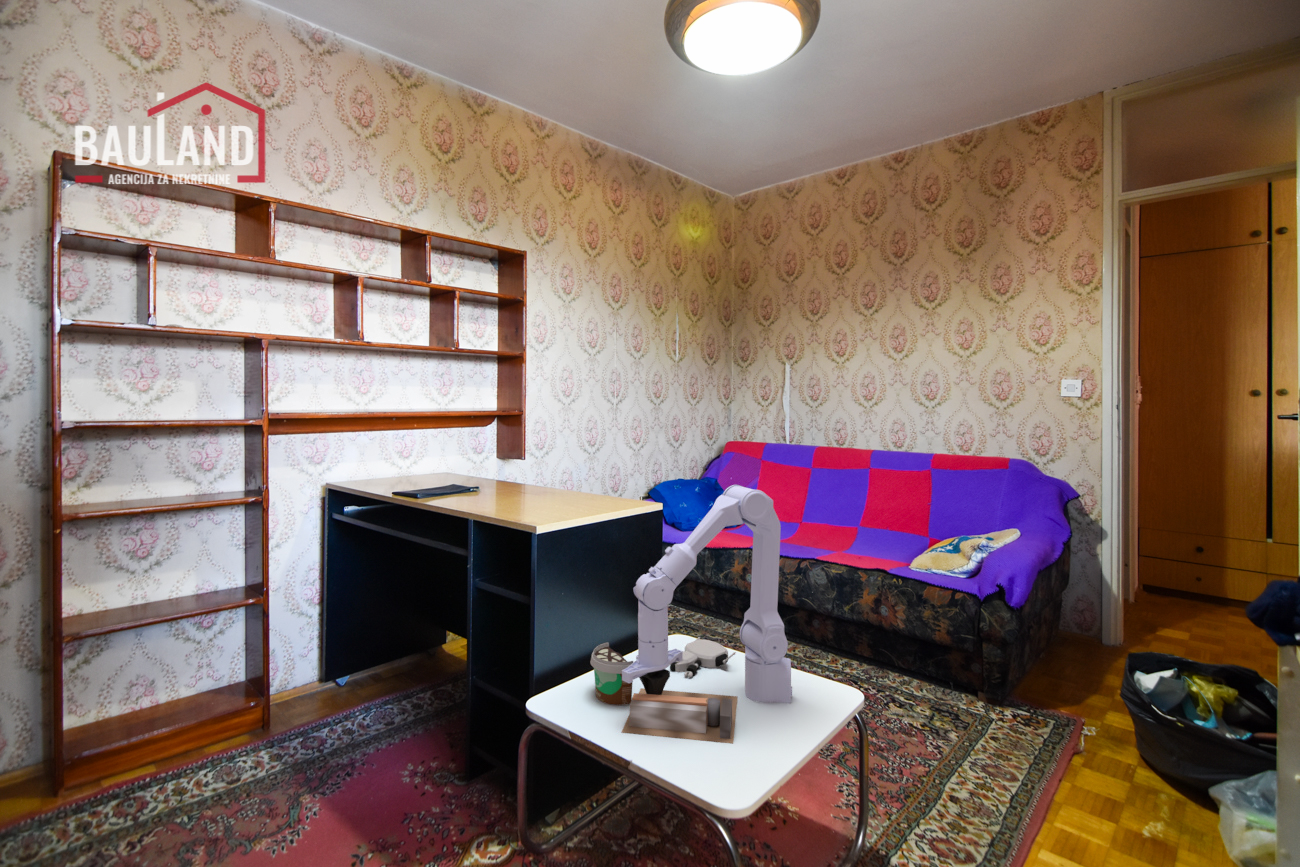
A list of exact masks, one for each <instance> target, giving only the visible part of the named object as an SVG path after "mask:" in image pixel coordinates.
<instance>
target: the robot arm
mask: <svg viewBox="0 0 1300 867" xmlns="http://www.w3.org/2000/svg"><path fill="white" fill-rule="evenodd" d="M743 524H744V525H745V526H747V528H749V530H751V531H752V556H751V583H750V585H751V586H750V604H749V605H750V607H749V608H748V609H747V610H746V611H745V612H744V615H743V617H744V618H743V621H742V624H741V627H740V629H739V639H740V642H741V643H742V645H743V646H744V651H745V653H744V694H745V697H746V698H747V699H749V700H750V701H753V702H757V703H763V704H764V703H765V704H767V703H778V704H780V703H781V704H792V697H793V686H792V661H791V658H789V657H785V655H786V654H787V651H788V647H789V643H788V642H789V641H788V640H787V636H786V634H785V624H784V622H783V620H782V618H781V616H780V614H779V612H778V602H779V580H780V579H779V577H780V555H781V554H780V552H781V528H782V527H781V526H782V525H781V522H780V519H779V517H778V514H777V513H776V511H775V508H774V499H772V498H771V497H770V496H769V495H768V494H766V493H765V492H764V491H762V490H760V489H753V488H749V487H745V486H743V485H739V484H733V485H730V486H728V487H727V488H726V489H725V490H724V491H723V493H722V494H721V495H719V496H718V497H717V498H716V499H715V501H714V504H713V505H712V507H711V509H710V510H708V512H707V513H706V515H705V516H704V517H703V518H702V519H701V521H700V522H699V523H698V525H697V526H695V528H694V530H693V531H692V532H691V533H690V535H688V537H687V538H686V540H685V541H684V542H682V543H675V544H673V545H672V546H667V547H666V549H665V550H664V553H665V554H664V555H663V556H662V557H661V559H660V560H658V561H657V563H656V564H655V565H654V566H650V568H649V569H648V572H646V574H645V573H644V574H642V575H640V577H638V579H637V580H636V582H635V586H634V587H633V588H632V589H633V594H634V596H635V597H636V598H637V599H638V604H637V605H638V611H637V612H638V613H637V622H638V623H637V626H638V627H637V635H638V637H637V639H638V640H637V642H638V643H637V646H638V648H637V649H638V651H637V655H636V656H635V661H633V663H632V664H631V665H630V666H629V667H627V668H626V669H624V670H622V680H623V681H625V682H627V683H632V684H633V682H634V680H636V679H638V678H639V680H640V682H641V683H642V687H643V689H645V691H646V694H653V695H662V692H663V690H664V689H665V686H666V684H667V683H668V680H669V679H670V677H671V672H670V671H671V670H670V671H669V669H667V668H668V667H670V664H671V663H673V662H676V661H678V662H680V661H682V660H683V651H682V650H681V649H677V648H673V649H671V650H669V614H668V611H669V610H668V608H669V605H670V604H671V603H672V601H673V597H674V592H675V589H676V588H677V587H678V586H679V585H680V584H681V583H682V582H683V580H684V579H685V578H686V577H687V576H688V575H689V573H690V572H691V571H692V570H693V569H695V567H696V566H697V561H698V560H697V558H698V557H697V556H698V554H699V553H700V552H702V550H703V549H705V547H706V546H708V544H709V543H711V541H712V540H713V539H714V538H715V537H717V535H718V534H720V532H721V531H722V530H724V529H725V527H732V526H738V525H739V526H740V525H743Z"/></svg>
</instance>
